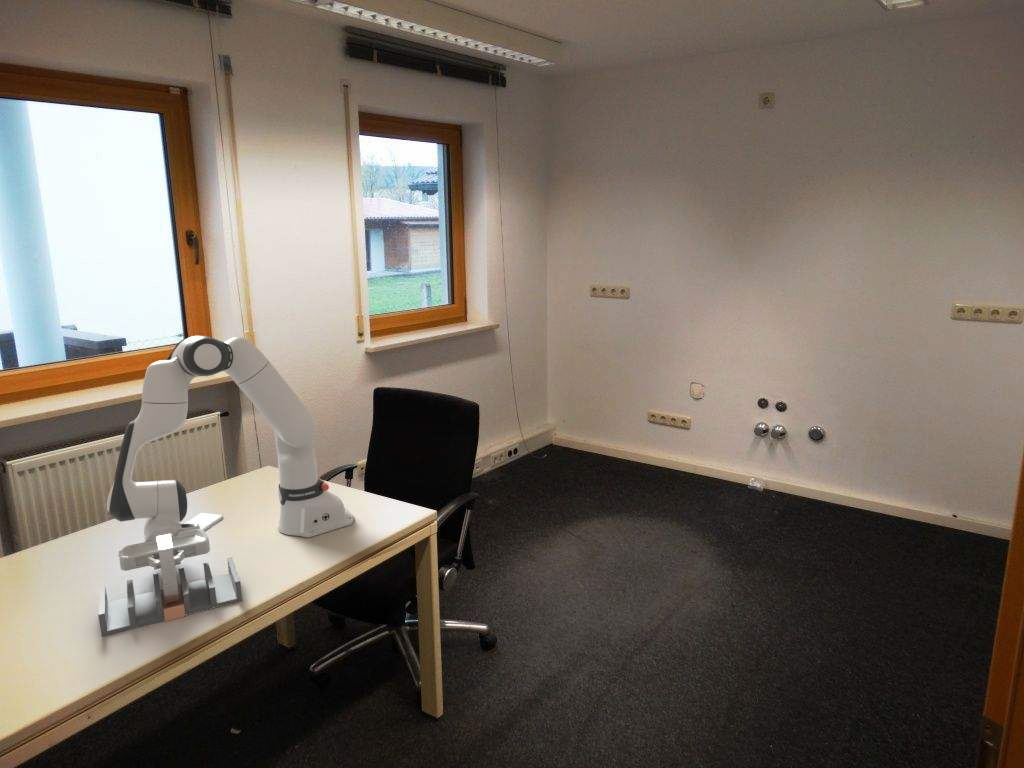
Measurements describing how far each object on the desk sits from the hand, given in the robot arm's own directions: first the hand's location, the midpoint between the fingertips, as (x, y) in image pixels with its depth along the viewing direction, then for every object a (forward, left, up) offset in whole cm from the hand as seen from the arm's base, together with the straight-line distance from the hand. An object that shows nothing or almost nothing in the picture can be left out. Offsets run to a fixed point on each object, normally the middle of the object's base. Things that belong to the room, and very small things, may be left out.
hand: (167, 564), depth 166 cm
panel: (0, 0, -8) cm, 8 cm away
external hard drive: (-10, -45, -11) cm, 48 cm away
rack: (0, 0, -11) cm, 11 cm away
